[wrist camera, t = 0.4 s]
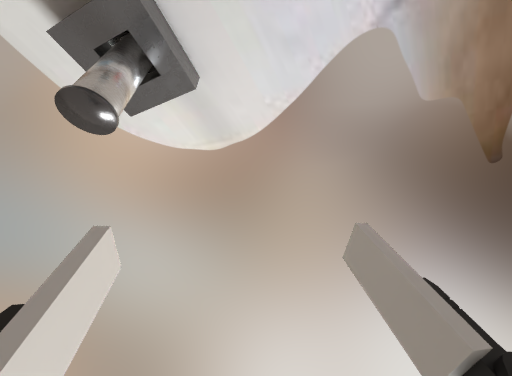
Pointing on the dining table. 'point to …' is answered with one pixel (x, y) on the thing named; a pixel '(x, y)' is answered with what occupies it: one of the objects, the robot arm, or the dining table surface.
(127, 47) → the silver metal cylinder
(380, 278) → the robot arm
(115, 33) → the housing
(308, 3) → the dining table surface
